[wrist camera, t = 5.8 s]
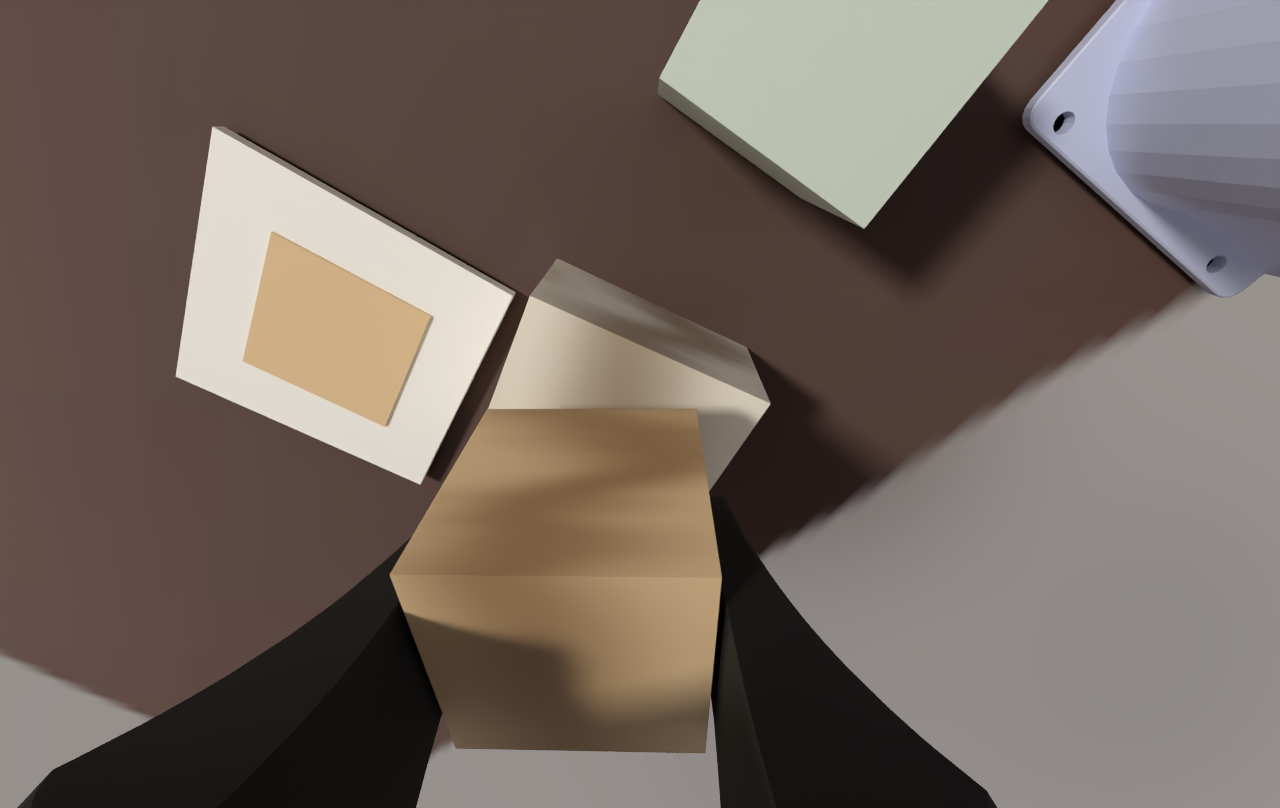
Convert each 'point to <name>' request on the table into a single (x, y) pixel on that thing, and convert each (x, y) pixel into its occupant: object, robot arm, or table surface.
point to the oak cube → (570, 583)
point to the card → (329, 312)
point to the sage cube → (837, 85)
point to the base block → (629, 362)
